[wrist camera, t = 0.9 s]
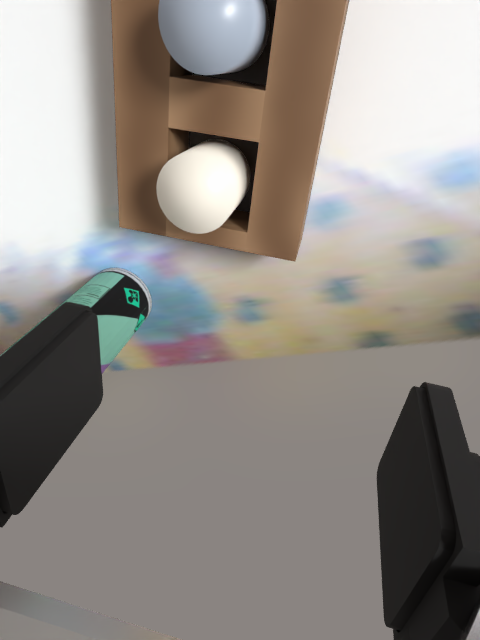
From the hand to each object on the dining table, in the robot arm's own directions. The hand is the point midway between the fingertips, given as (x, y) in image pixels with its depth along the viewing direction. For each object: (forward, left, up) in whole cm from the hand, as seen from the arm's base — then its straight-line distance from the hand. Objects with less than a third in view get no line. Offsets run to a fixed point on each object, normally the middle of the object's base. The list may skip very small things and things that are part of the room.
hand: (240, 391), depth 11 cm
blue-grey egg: (+6, -8, -20) cm, 22 cm away
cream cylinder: (+6, 0, -20) cm, 20 cm away
